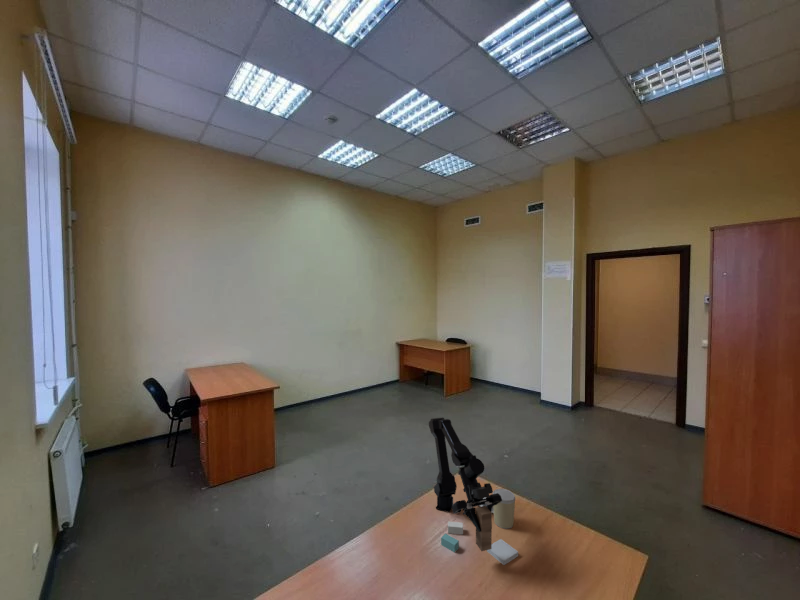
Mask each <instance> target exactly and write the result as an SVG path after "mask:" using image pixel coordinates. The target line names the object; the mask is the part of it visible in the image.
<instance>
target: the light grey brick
mask: <svg viewBox="0 0 800 600" xmlns="http://www.w3.org/2000/svg"><path fill="white" fill-rule="evenodd" d="M447 534H453V535H464V524H463V522H458V521H447Z"/></svg>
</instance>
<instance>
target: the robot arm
mask: <svg viewBox="0 0 800 600" xmlns="http://www.w3.org/2000/svg"><path fill="white" fill-rule="evenodd" d="M428 427H429V430H430V433H431V435H432V437H433V438H434V440H435V448H436V449H435V450H436V456H437V463H438V474H437V477H436V484H435V485H434V486H433V490H434V491H433V492H434V494H435V496H436V507H435V509H436V510H439V511H442V512H446V513H451V511H452V514H461V513H462V515H465V516H466V517H467V518H468V520H469V521H470V522H471V523H472V524H473V525H474V527H475V529H476V528H477V529H478V531H479V532H481V528H480V525H479V522H478V519H477V516H476V507H481V506H480V505H483V506H486V507H487V508H488V509H489V510H490V511H492V507H493V506H494V505H497V504H498V503H500V502H501V501H503V500H502V498H501V496H500V495H499V494H498V493H496V494H493V492H494V489H493V487H492V485H491V483H489V482H487V483H484V484H483V486H482V484H481V483H480V482H478V480H477V479H478V478H479V477H480V475H482V474H483V473H484V471H485V465H484V463H483V462H482V461H481V459H479V458H477V456H476V455H474V454H472V452H471V451H470V449H469V448H468V446H466V444H463V443H462V441H461V440H460V438H459V437H458V435H457V433H456V431H455V428H454V427H453V425H452V421H451V419H449V418H445V417H434V418H433V417H432V418H431V419H430V420H429V421H428ZM446 442H447V443H448V445H449V447H450V450H451V453H450V456H451V460H452V463H453V464H454V465H455V467H456V466H457V467H459V469H458V473H457V474H458V475H459V476H460V479H461V483H462V485H463V489H462V490H463V492H464V493H465V495H466V499H467V500H465V499H462V500H458V501H457V500H456V501H455V502H454V495H456V493H457V482H456V477H455V475H453V473H452V472H451V470H450V463H449V456H448V449H447V443H446ZM483 498H485V499H483ZM480 502H481V503H480ZM462 510H463V512H462Z"/></svg>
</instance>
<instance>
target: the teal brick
mask: <svg viewBox="0 0 800 600" xmlns="http://www.w3.org/2000/svg"><path fill="white" fill-rule="evenodd" d="M440 544H441V546H442V547H444V548H445V549H447V550H449V551H451V552H453V553H456V552H457V551H458V550H459V548H460V547H459V545H460V541H459V540H458V539H457V538H456V537H455V538H454V537H453V536H452V535H449V534H448V533H444V535H442V536H441V537H440ZM455 551H456V552H455Z"/></svg>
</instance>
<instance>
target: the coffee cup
mask: <svg viewBox="0 0 800 600" xmlns="http://www.w3.org/2000/svg"><path fill="white" fill-rule="evenodd" d="M496 493H498V494H499V495H500V496H501V498H502V500H503V501H501V502H500V503H498V504H497V505H494V506H493V509H494V513H493V520H494V524H495V525H496V526H497V527H499V528H501V529H504V530H505V529H506V530H507V529H512V528H513V527H514V519H515V507H516V505H515V504H516V496H515V494H514V493H513V492H512V491H511V490H509V489H506V488H497V489H493V493H492V494H496Z"/></svg>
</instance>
